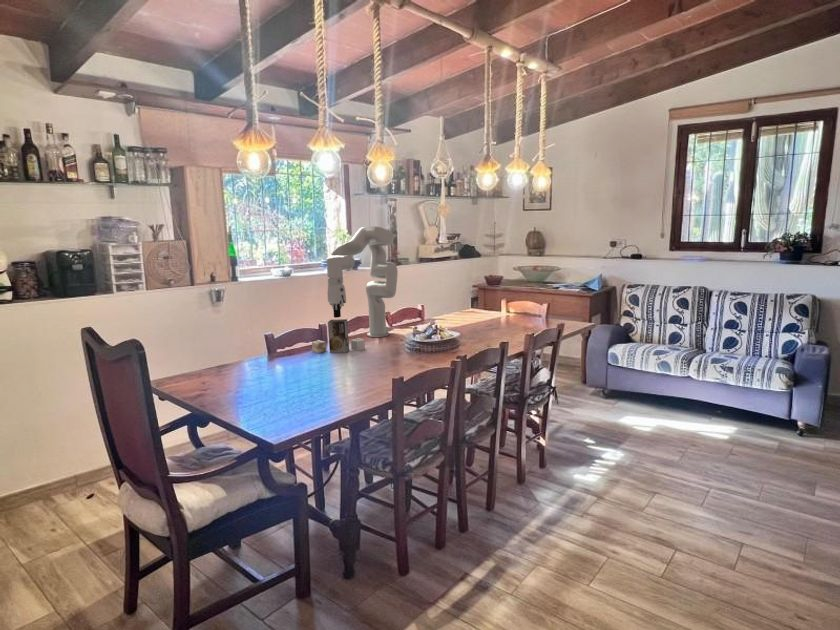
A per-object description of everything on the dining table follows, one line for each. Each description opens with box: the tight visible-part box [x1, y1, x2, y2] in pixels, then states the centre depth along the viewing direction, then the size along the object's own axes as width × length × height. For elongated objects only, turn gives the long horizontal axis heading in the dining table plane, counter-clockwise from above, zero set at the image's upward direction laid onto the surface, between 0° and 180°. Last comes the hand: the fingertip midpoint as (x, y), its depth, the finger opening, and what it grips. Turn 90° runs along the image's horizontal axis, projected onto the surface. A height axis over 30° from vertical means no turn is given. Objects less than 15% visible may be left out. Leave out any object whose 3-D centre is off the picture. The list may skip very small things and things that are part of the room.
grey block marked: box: [350, 337, 366, 351], centre depth 279 cm, size 5×5×5 cm
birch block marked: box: [311, 340, 327, 354], centre depth 276 cm, size 5×5×5 cm
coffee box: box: [327, 318, 350, 353], centre depth 274 cm, size 9×6×16 cm
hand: (337, 317), depth 272 cm, fingers closed
